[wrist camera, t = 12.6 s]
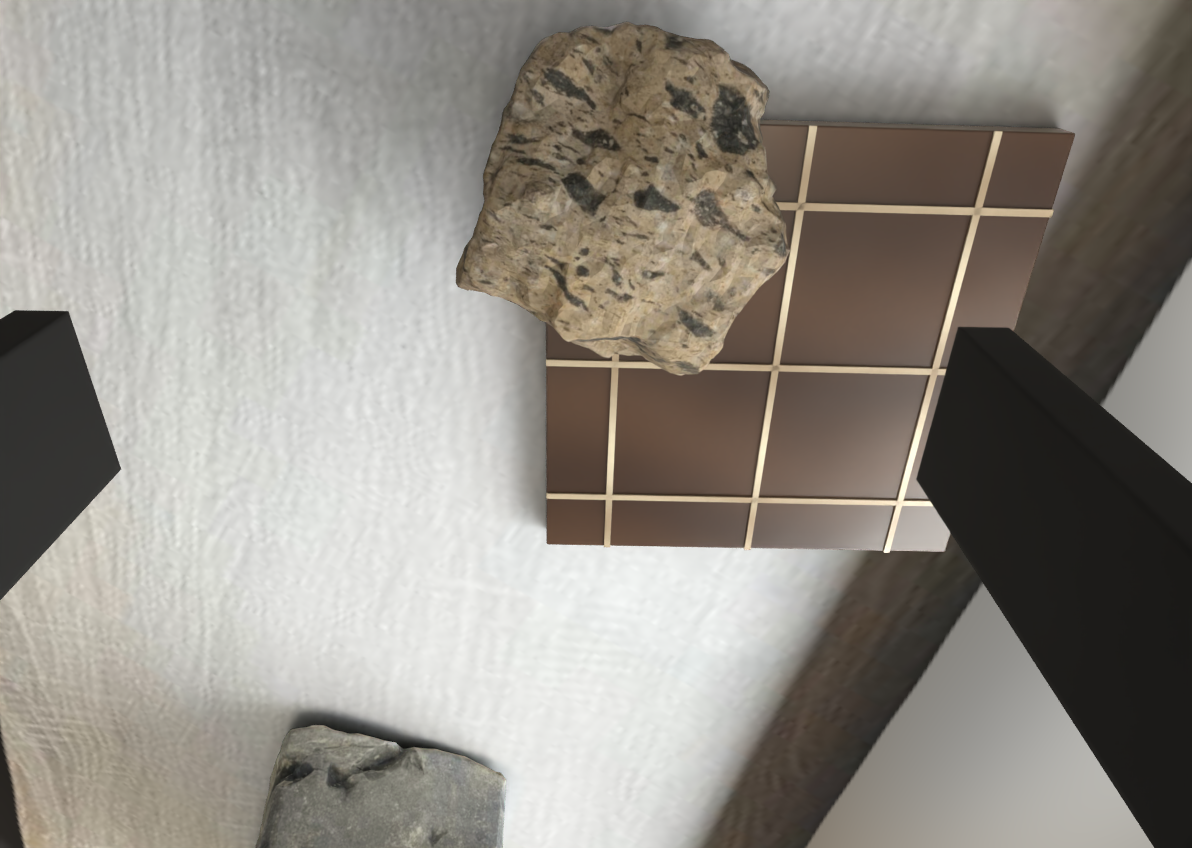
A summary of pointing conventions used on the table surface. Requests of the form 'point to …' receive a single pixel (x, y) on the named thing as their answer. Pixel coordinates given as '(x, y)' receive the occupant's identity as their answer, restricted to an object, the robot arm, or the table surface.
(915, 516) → the grid board
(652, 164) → the rock
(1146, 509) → the robot arm
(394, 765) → the grey broken concrete chunk
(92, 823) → the table surface
